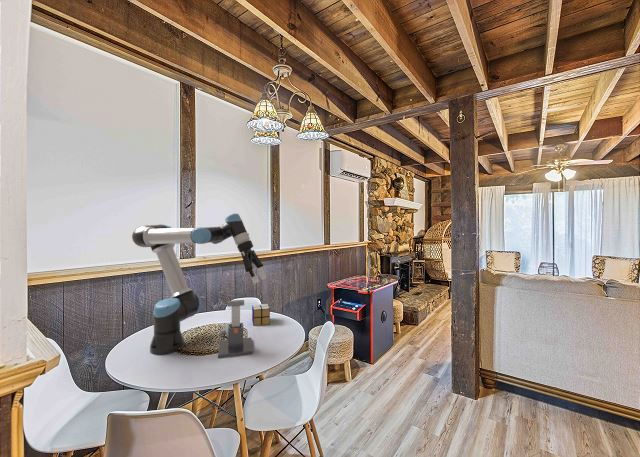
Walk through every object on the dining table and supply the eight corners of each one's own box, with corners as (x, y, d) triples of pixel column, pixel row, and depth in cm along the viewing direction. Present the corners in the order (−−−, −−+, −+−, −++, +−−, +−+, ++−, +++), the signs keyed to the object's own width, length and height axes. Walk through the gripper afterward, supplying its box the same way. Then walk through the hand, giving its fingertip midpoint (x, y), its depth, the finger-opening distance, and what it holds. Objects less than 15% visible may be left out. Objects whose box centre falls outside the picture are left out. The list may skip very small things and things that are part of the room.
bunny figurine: (221, 333, 153) (218, 320, 166) (221, 342, 153) (217, 329, 167) (239, 330, 157) (234, 318, 170) (239, 339, 157) (234, 326, 171)
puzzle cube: (252, 320, 183) (252, 304, 182) (267, 318, 186) (267, 303, 185) (253, 326, 173) (253, 309, 173) (269, 324, 176) (270, 308, 176)
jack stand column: (227, 347, 140) (227, 303, 139) (227, 343, 144) (227, 300, 144) (244, 345, 143) (244, 301, 142) (244, 341, 147) (244, 299, 146)
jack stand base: (218, 358, 134) (217, 333, 133) (219, 343, 149) (219, 321, 149) (253, 353, 138) (253, 330, 138) (251, 340, 154) (251, 318, 153)
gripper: (241, 239, 133) (259, 281, 132) (257, 239, 158) (273, 274, 157) (227, 246, 134) (245, 288, 132) (245, 245, 159) (261, 280, 157)
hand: (260, 280), depth 145 cm, fingers open, 13 cm apart
